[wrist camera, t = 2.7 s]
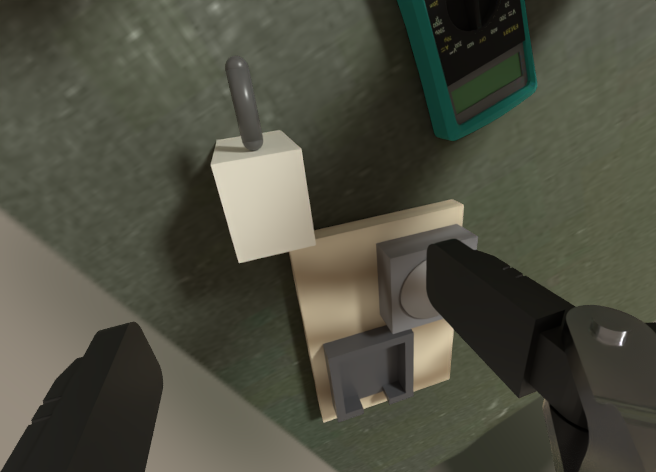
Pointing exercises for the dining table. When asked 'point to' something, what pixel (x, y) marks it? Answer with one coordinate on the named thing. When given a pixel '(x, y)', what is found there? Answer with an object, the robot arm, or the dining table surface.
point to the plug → (260, 180)
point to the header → (369, 368)
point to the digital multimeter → (470, 60)
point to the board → (377, 289)
